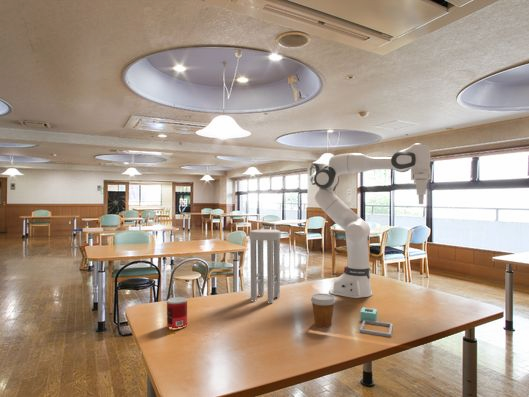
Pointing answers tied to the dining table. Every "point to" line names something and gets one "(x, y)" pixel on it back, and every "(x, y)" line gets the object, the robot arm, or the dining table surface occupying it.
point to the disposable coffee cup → (323, 309)
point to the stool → (269, 236)
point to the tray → (376, 331)
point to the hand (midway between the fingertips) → (421, 204)
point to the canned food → (177, 312)
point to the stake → (369, 311)
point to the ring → (368, 314)
